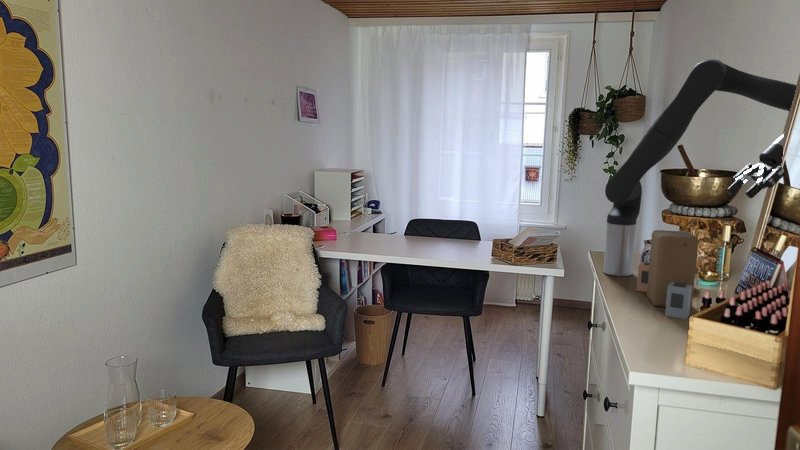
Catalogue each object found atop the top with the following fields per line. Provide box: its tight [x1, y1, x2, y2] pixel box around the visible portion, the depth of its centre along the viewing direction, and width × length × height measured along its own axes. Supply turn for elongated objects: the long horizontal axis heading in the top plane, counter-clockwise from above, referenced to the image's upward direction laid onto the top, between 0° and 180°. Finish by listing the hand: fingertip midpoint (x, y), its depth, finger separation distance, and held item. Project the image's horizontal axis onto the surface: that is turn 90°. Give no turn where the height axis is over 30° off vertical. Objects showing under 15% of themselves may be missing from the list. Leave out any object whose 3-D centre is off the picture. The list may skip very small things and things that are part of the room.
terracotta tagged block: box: [636, 261, 650, 293], centre depth 174 cm, size 5×5×8 cm
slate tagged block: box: [664, 282, 692, 320], centre depth 150 cm, size 5×5×8 cm
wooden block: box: [646, 229, 699, 309], centre depth 160 cm, size 10×10×20 cm
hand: (738, 194), depth 157 cm, fingers open, 8 cm apart
